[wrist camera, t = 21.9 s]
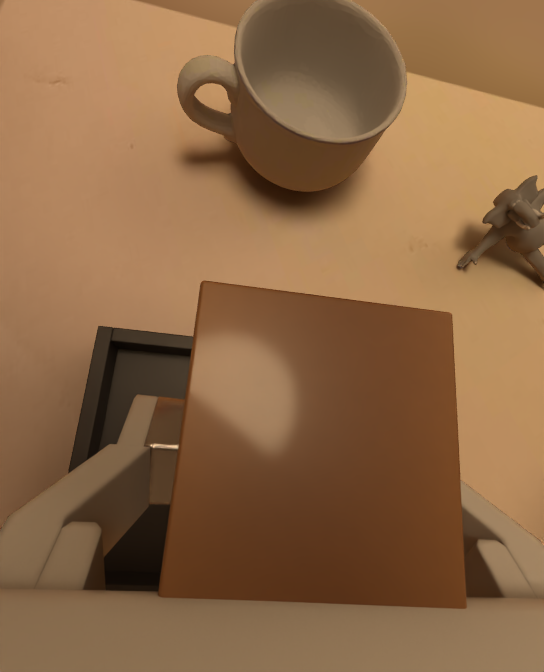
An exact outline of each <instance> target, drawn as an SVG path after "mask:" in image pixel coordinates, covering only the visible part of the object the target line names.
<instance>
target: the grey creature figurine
mask: <svg viewBox="0 0 544 672" xmlns="http://www.w3.org/2000/svg"><path fill="white" fill-rule="evenodd" d="M536 181H537V175H536V176H532V177H530V178H528V179H526V180H525V181H524V182H523V183H522V184H521V185H520V186H519V187H518V188H517V189H515V190H511V189H506V190H504V191H503V192H502V193H500V194H499V195H498V196H497V197H496V198H495V200H494V201H493V203H494V206H495V208H493V209H492V210H491V211H489V212H488V213H487V214H486V215H485V217H484V219H483V221H482V222H483V223H484V224H486V223H489V224H492V225H493V226H492V228H491V229H490V230H489V231H488V233H487V234H486V235H485V236H484V237H483V239H482V240H481V242H480V243H479V244H478V246H476V247H475V248H474V249H473V250H471V251H469V252H467V253H466V254H465V255H464V257H463V258H462V260H460V261H459V263H458V266H459V267H461V268H463V267H464V266H465V265H466V264H468V263H469V262H471V261H473V263H474V264H475V265H476V264H477V259H478V258H479V256H480V255H481V254H482V253H483V252H484V251H485V250H487V249H488V248H490V247H491V246H493V245H495V244H496V243H497V242H499V241H500V240H501V239H503V238H504V237H505V239H506V243H507V246H508V247H509V248H510V249H511V250H512V251H514V252H518V253H520V254H522V255H523V257H524V258H525V259H526V260H527V261H528V262H529V263H530V264H531V266H532V267H533V268H534V269H535V270H536V272H537V273H538V275H539V277H540V278H541V280H542V281H543V283H544V257H543V255H542V254H541V252H540V251H539V249H538V248H540V247H541V246H542V245H544V213H542V212H540V209H541V207H542V206H543V204H544V188H543V189H541V190H540V191H538V190H537V187H536Z"/></svg>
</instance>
